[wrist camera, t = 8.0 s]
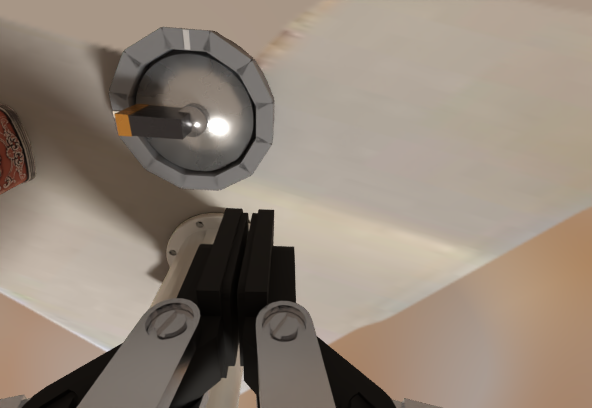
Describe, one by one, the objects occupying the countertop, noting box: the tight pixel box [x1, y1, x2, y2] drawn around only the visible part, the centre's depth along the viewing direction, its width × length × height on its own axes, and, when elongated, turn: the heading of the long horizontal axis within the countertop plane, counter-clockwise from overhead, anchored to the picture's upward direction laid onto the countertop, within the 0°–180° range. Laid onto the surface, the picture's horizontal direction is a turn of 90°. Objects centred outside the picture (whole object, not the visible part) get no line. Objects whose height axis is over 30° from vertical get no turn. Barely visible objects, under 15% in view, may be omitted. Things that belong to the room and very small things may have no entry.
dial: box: [114, 53, 255, 171], centre depth 26 cm, size 10×10×5 cm
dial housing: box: [109, 27, 274, 191], centre depth 28 cm, size 14×14×3 cm
